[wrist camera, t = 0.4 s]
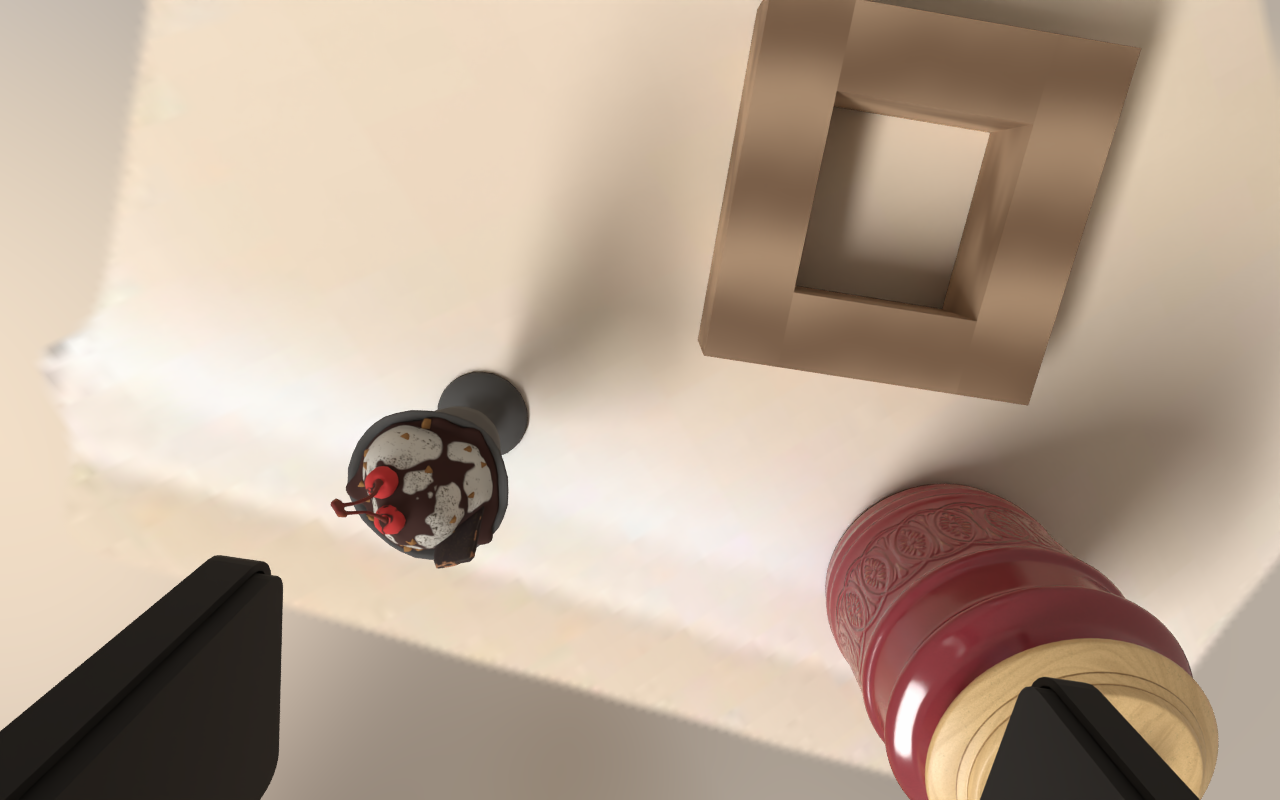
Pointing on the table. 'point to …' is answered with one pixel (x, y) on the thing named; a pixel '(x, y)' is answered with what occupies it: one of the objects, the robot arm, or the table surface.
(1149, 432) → the table surface
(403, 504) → the sundae
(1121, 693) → the canister
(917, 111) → the collar block
